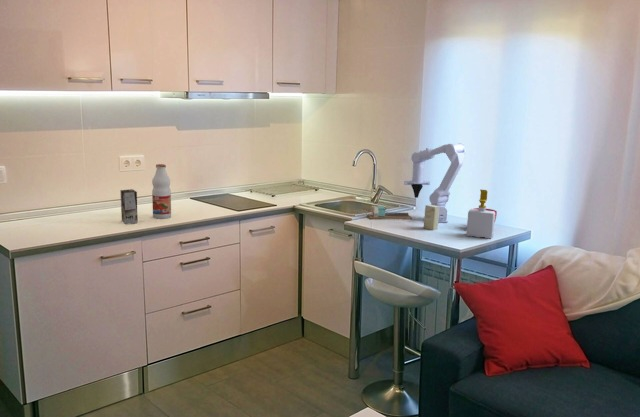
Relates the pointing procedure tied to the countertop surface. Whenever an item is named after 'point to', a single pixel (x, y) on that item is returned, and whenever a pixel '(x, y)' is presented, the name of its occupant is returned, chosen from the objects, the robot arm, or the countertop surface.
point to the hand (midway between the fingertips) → (416, 197)
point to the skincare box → (431, 217)
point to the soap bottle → (481, 219)
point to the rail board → (387, 215)
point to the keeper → (381, 210)
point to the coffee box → (129, 206)
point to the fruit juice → (161, 193)
